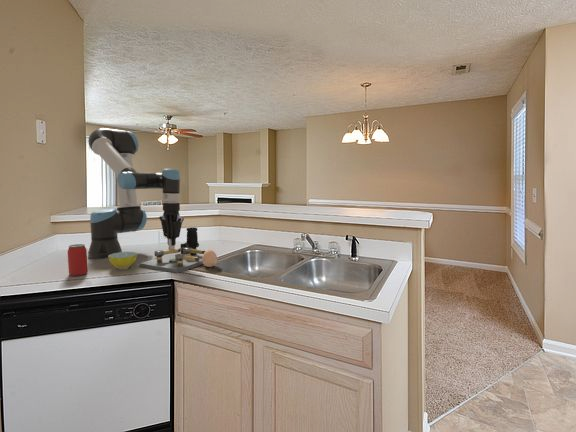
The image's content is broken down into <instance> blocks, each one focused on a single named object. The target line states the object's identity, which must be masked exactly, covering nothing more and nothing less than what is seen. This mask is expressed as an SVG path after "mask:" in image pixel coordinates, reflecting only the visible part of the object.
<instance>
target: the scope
mask: <svg viewBox="0 0 576 432" xmlns="http://www.w3.org/2000/svg"><path fill="white" fill-rule="evenodd" d="M186 231H187V232H186V242H184V243H180V247H179V249H180V250H181V251H180V254H185V253H183V248H187V247H190V248H192V249H197V248H199V246H200V244H199V239H198V238H199V237H198V227H187V228H186ZM190 256H197V254H196V253H190Z"/></svg>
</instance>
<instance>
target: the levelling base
mask: <svg viewBox="0 0 576 432" xmlns="http://www.w3.org/2000/svg"><path fill="white" fill-rule="evenodd" d="M175 255H176V254H166V255H164V256H162V262H157V258H154V259H151V260H150V259H149V260H147V261H144V262H139V264H138V265H139V266H138V267H139V268H145V269H151V270H156V271H162V272H163V271H164V272H169V273H170V272H171V273H174V274H175V273H176V274H178V273H181V272H182V273H183V272H185V271H187V270H190V269H193V268H195V267H198V266H201V265H204V264H203V262H202V257H201V258H200V257H198V258H199V261H189V260H183V266H177V260H175ZM192 267H193V268H192Z"/></svg>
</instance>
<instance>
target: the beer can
mask: <svg viewBox="0 0 576 432" xmlns="http://www.w3.org/2000/svg"><path fill="white" fill-rule="evenodd" d="M85 245H86V244H83V243H79V244H70V245H69V246H68V249H67V267H68V274H69V276H70V277H80V276H85V275H86V274H88V272H89V271H88V251H87V248H86V246H85Z"/></svg>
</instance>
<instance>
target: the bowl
mask: <svg viewBox="0 0 576 432" xmlns="http://www.w3.org/2000/svg"><path fill="white" fill-rule="evenodd" d="M137 256H138V253H137V252H135V251H122V252H119V253H114V254H111V255H109V256H108V258H107V259H108V260H109V263H110V264H111V265H112V266H114V267H116V268H117V269H118V270H121V271H122V270H128V269H129V268H130V266H132V265H133V264H134V263H135V262H136V260H137V258H138V257H137Z"/></svg>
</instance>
